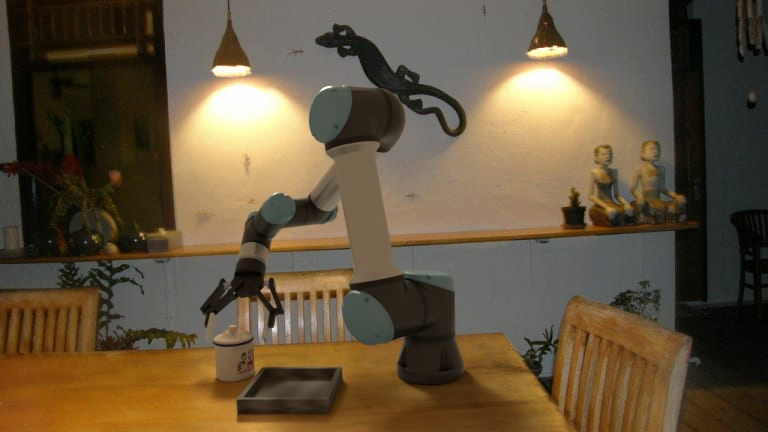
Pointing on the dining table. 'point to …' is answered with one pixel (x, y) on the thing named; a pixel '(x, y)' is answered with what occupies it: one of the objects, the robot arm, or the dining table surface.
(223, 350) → the teacup with lid
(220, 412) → the dining table surface
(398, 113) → the robot arm
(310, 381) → the tea tray
